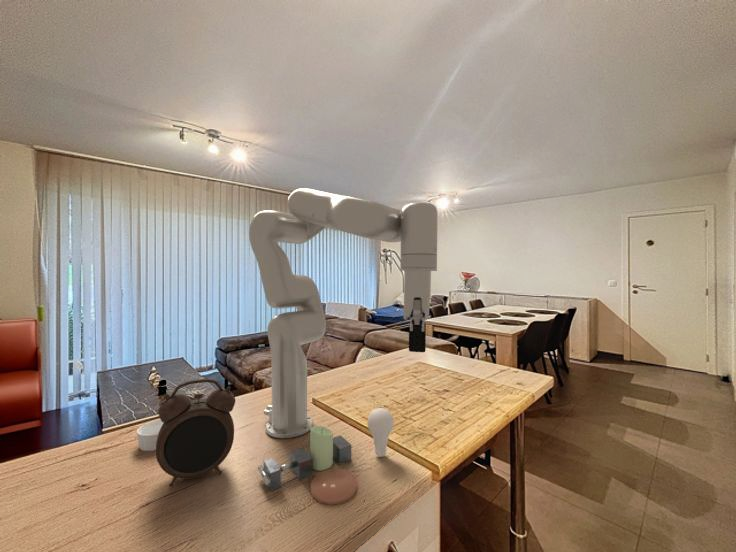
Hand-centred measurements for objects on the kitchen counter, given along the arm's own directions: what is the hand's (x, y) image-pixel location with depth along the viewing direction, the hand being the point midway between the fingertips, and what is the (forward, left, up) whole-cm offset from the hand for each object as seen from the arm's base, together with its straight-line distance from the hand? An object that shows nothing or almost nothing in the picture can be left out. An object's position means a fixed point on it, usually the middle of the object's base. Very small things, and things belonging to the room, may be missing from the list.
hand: (417, 345), depth 65 cm
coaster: (-13, -12, -27) cm, 32 cm away
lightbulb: (-10, +2, -27) cm, 29 cm away
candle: (-20, -7, -27) cm, 35 cm away
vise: (-22, -10, -27) cm, 36 cm away
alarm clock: (-40, -23, -27) cm, 54 cm away
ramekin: (-61, -20, -28) cm, 70 cm away
